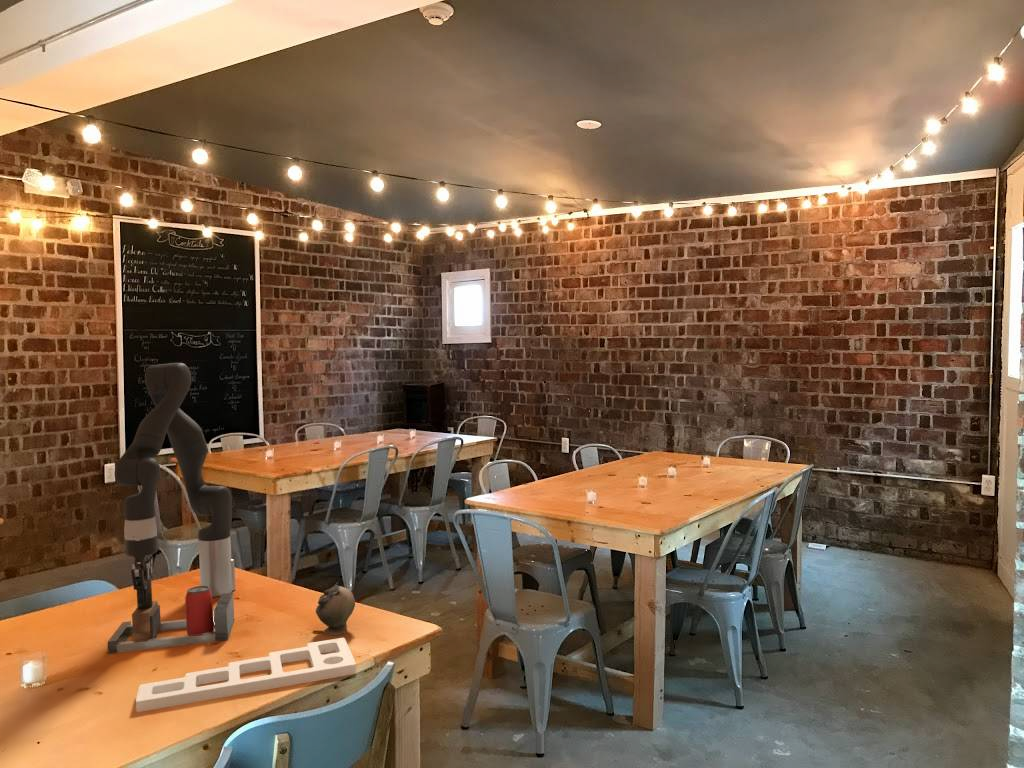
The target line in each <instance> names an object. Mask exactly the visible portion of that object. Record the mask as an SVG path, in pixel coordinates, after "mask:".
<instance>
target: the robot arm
mask: <svg viewBox="0 0 1024 768" xmlns="http://www.w3.org/2000/svg"><path fill="white" fill-rule="evenodd" d="M144 382H145V386H146V388H147V392H148V395H150V399H151V400H152V402H153V404H154V406H155V407H154V408H153V409H152V410H151V411H149V413H148V414H147V415H145V416H144V418H143V419H142V420H141V421H140V423H139V425H138V428H137V430H136V433H135V436H134V438H133V441H132V443H131V444H130V445H129V447H128V448H127V449H126V450H125V452H124V453H123V454H122V456H121V457H120V458H119V460H118V461H117V463H116V465H115V468H114V478H115V481H116V482H117V483H118V485H119V486H124V487H138V486H139V487H140V486H141V491H139V493H136V494H132V495H129V496H127V497H126V498H125V499H124V503H123V506H124V507H123V508H124V509H123V510H124V527H123V528H124V546H125V547H124V548H125V550H124V552H125V556H127V557H129V558H130V557H133V558H134V562H132V564H131V565H132V566H131V567H132V569H131V571H130V573H131V579H132V585H133V586H132V587H133V590H134V591H136V602H137V603H138V604H146V603H147V580H148V579H149V575H151V580H153V578H154V575H153V572H154V571H153V570H154V569H153V567H154V556H153V555H154V554H156V553H157V552H158V550H159V545H158V543H159V542H158V526H157V520H156V509H155V508H156V506H155V505H156V504H155V500H156V494H157V489H158V484H159V482H160V479H161V478H160V477H161V470H162V469H161V466H160V463H159V462H158V461H157V460H156V459H155V457H157V456H158V455H159V454H160V452H161V450H162V448H163V444H164V442H165V438H166V435H167V436H168V439H169V443H170V446H171V449H172V451H173V454H174V456H175V458H176V460H177V463H178V465H179V469H180V472H181V476H182V478H183V482H184V486H185V489H186V494H187V498H188V501H189V505H190V508H191V510H192V512H193V513H194V514H196V515H197V516H202V517H212V520H211V524H209V525H208V526H203V527H201V528H199V530H198V535H197V537H198V540H197V541H198V557H199V561H198V562H199V580H200V581H199V582H200V585H199V586H208V587H210V591H211V593H212V598H215V597H220V596H221V594H224V593H233V591H235V590H236V573H235V572H236V571H235V559H233V558H232V546H231V543H232V542H231V530H232V523H233V522H232V521H233V517H232V515H233V514H232V509H233V507H232V506H233V504H232V503H233V499H232V493H231V490H230V489H229V488H228V487H227V486H224V485H207V484H206V483H205V480H204V477H203V472H202V471H203V466H204V464H205V461H206V459H207V456H208V455H207V454H208V444H207V441H206V438H205V435H204V432H203V429H202V428H201V426H200V425H199V424H198V423H197V422H196V421H195V420H194V419H192V418H191V416H189V415H188V414H187V413H185V412H184V411H183V410H182V409H181V408H180V407H181V405H182V403H183V402H184V400H185V398H186V397H187V395H188V393H189V391H190V388H191V385H192V374H191V370H190V368H189V367H188V366H187V365H186V364H185V363H183V362H169V363H160V364H152V365H149V366H148V367H147V368H146V370H145V372H144ZM144 575H146V576H145V577H144ZM139 582H141V583H142V584H139Z"/></svg>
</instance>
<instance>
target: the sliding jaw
mask: <svg viewBox="0 0 1024 768" xmlns="http://www.w3.org/2000/svg"><path fill="white" fill-rule="evenodd" d="M145 576H146V575H144V577H145ZM139 584H142V583H141V582H139ZM152 587H153V586H152V579H151V575H149V579H148V580H147V603H146V604H138V603H137V604H136V605H137V607H136V608H135V610H134V611H133V612H132V614H131V625H132V627H133V634H132V641H136V640H145V639H155V637H156V636H157V634H158V633H159V632H160V631H159V629H160V628H161V622H162V621H161V604H159V602H158V600H153V592H152V591H153V588H152Z"/></svg>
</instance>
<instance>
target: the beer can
mask: <svg viewBox="0 0 1024 768" xmlns="http://www.w3.org/2000/svg"><path fill="white" fill-rule="evenodd" d="M184 600H185V601H184V602H185V619H186V623H187V628H186V635H191V634H201V633H210V632H215V625H214V622H213V616H214V605H213V604H214V603H213V597H212V593H211V591H210V587H208V586H201V585H198V586H192V587H190V588H188V589H187V590H186V594H185V598H184Z"/></svg>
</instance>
